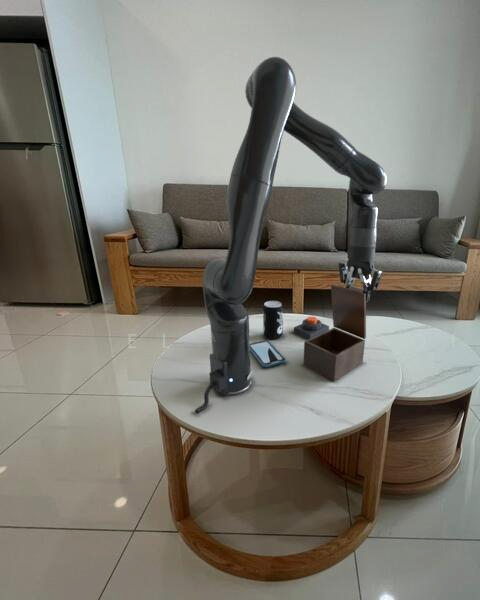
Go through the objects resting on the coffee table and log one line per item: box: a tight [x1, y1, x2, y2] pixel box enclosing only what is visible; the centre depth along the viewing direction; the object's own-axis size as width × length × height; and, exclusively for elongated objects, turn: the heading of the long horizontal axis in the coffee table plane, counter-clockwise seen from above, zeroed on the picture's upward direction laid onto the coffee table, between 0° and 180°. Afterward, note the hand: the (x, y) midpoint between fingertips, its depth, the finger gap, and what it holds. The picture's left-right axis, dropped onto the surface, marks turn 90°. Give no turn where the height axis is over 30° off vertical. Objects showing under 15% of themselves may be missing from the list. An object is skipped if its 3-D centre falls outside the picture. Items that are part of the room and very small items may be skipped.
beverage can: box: [262, 300, 284, 340], centre depth 109 cm, size 7×7×12 cm
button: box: [306, 316, 318, 325], centre depth 114 cm, size 4×4×2 cm
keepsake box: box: [303, 327, 366, 382], centre depth 94 cm, size 14×12×8 cm
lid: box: [330, 283, 367, 340], centre depth 95 cm, size 14×12×6 cm
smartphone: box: [250, 339, 287, 368], centre depth 99 cm, size 7×1×15 cm
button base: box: [293, 318, 330, 340], centre depth 114 cm, size 10×8×4 cm
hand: (356, 299), depth 95 cm, fingers closed on lid, 5 cm apart
